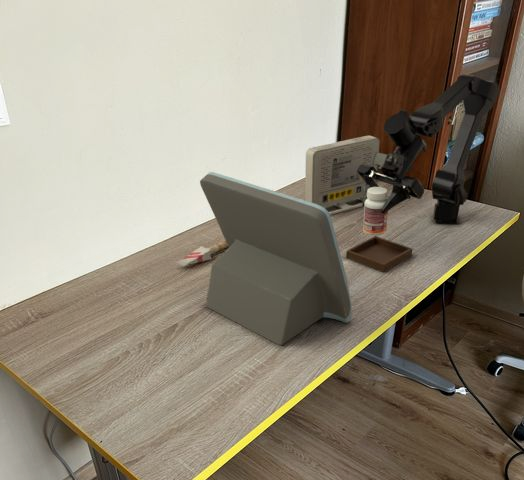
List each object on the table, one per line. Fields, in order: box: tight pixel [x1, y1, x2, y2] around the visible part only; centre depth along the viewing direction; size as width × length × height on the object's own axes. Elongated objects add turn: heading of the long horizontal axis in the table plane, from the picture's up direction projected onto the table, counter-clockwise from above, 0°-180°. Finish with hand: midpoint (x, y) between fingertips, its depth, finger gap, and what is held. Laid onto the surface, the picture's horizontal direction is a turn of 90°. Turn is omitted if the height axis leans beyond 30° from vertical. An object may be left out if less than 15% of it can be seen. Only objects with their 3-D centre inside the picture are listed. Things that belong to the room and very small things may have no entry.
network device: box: [304, 135, 380, 216], centre depth 176 cm, size 26×9×20 cm, turn 120°
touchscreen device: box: [199, 171, 353, 346], centre depth 122 cm, size 35×20×30 cm, turn 45°
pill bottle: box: [362, 186, 389, 236], centre depth 146 cm, size 6×6×11 cm
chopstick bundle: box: [176, 240, 229, 267], centre depth 154 cm, size 4×3×20 cm
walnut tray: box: [345, 235, 414, 273], centre depth 151 cm, size 13×12×2 cm
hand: (372, 209), depth 144 cm, fingers closed on pill bottle, 6 cm apart
